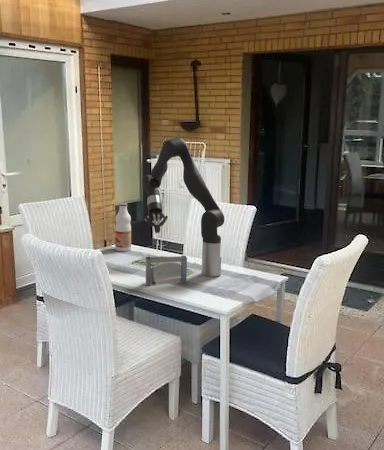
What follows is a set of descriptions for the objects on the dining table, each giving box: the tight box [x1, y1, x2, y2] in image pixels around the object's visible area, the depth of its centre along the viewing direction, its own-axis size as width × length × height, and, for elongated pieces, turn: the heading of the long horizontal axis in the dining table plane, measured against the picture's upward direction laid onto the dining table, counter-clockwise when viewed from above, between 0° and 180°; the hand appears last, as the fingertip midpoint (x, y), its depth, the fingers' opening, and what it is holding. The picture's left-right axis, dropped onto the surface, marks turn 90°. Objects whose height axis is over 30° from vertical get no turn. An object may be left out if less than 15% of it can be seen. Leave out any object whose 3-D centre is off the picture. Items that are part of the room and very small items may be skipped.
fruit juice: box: [114, 202, 132, 252], centre depth 294 cm, size 9×9×28 cm
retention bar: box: [145, 255, 188, 287], centre depth 234 cm, size 19×4×13 cm, turn 102°
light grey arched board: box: [151, 262, 181, 286], centre depth 240 cm, size 17×5×10 cm, turn 119°
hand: (157, 232), depth 259 cm, fingers closed
